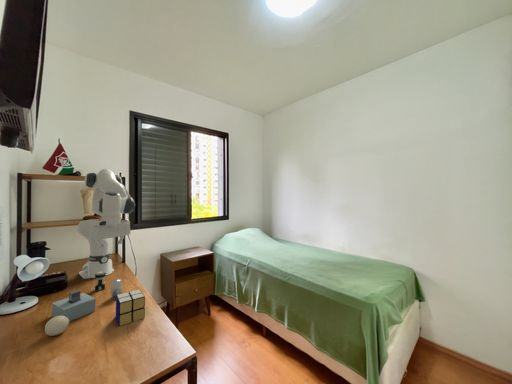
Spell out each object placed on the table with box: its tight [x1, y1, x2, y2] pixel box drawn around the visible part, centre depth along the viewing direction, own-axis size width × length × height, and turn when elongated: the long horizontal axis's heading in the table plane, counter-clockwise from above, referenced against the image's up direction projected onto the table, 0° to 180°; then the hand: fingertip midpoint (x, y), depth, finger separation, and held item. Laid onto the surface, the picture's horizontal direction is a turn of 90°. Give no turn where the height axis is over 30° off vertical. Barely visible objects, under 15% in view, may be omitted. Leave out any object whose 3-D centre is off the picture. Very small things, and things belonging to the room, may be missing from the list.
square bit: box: [68, 289, 81, 303], centre depth 100 cm, size 3×3×9 cm
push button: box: [91, 271, 106, 291], centre depth 126 cm, size 7×5×10 cm
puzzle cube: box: [115, 288, 146, 327], centre depth 97 cm, size 10×10×10 cm
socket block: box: [51, 292, 96, 322], centre depth 100 cm, size 12×12×6 cm
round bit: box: [110, 278, 123, 300], centre depth 117 cm, size 5×5×9 cm
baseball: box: [44, 316, 70, 337], centre depth 86 cm, size 7×7×7 cm
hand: (110, 245), depth 120 cm, fingers open, 8 cm apart
